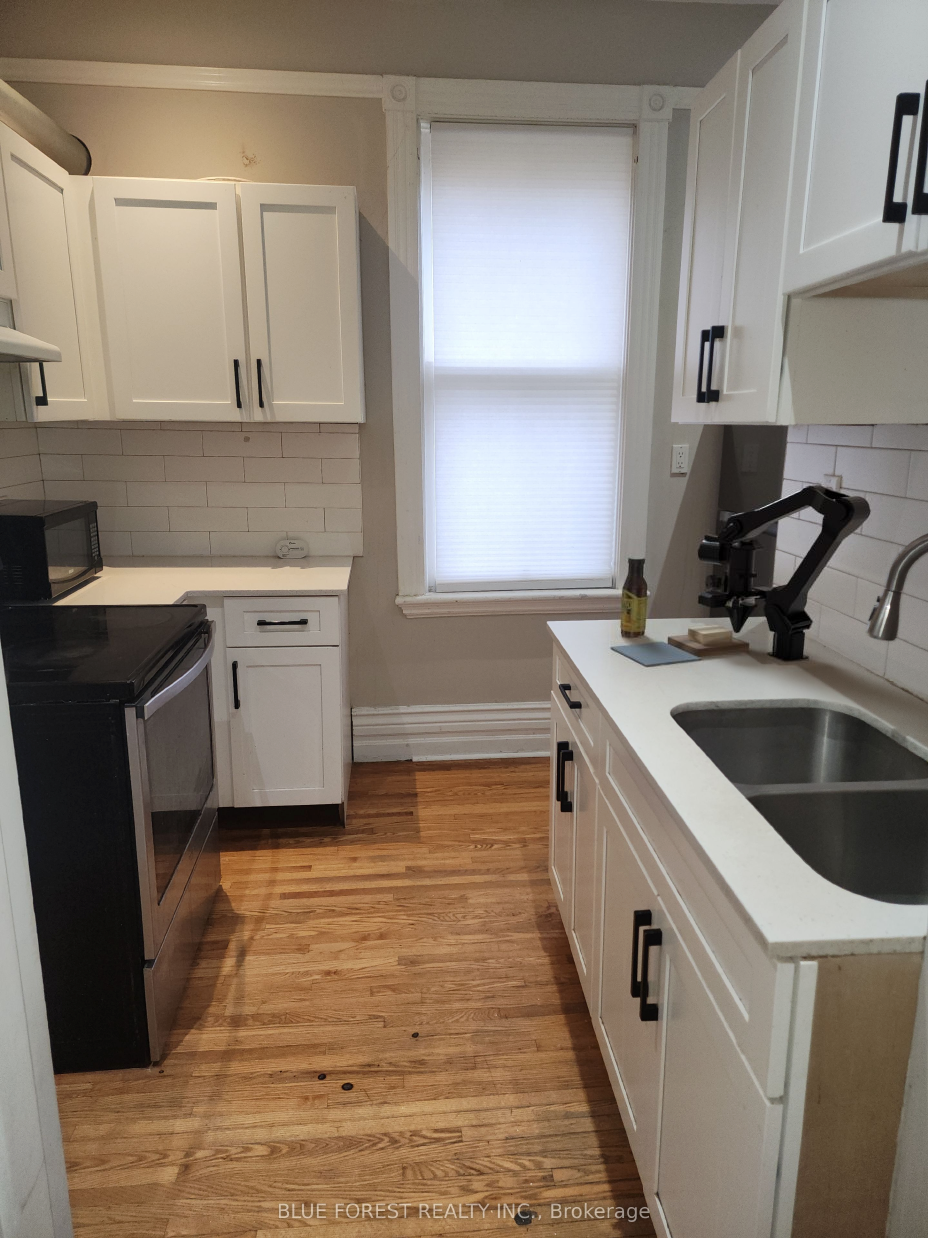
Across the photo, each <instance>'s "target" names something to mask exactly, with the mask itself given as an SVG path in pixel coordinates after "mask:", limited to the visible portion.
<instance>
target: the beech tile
mask: <svg viewBox="0 0 928 1238" xmlns="http://www.w3.org/2000/svg"><path fill="white" fill-rule="evenodd" d="M733 633H734V631H733V629H732V630H731V629H729V628H726V627H724V626H720V625H718V624H715V625H705V626H697V627H696V626H695V627H694V626H693V627H688V628H687V635H688V639H691V640H693V641H695V642H698V643H700V644H711V643H720V642H729V641H732V637H733Z"/></svg>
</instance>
